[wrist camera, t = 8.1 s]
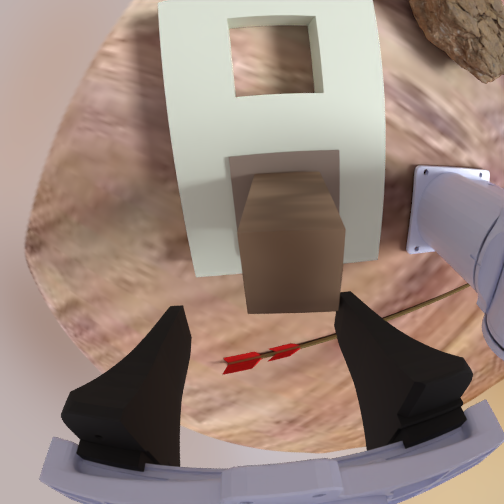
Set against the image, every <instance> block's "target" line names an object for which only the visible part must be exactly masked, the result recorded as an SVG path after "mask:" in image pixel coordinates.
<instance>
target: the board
mask: <svg viewBox="0 0 504 504" xmlns="http://www.w3.org/2000/svg"><path fill="white" fill-rule="evenodd" d="M158 17H159V32H160V46H161V58H162V68H163V78H164V88H165V97H166V105H167V113H168V121H169V128H170V136H171V143H172V150H173V156H174V163H175V169H176V175H177V181H178V187H179V193H180V199H181V205H182V210H183V215H184V221H185V226H186V231H187V236H188V241H189V246H190V251H191V256H192V261H193V266H194V270H195V275H196V277H206V276H218V275H230V274H241V273H242V267H241V259H240V252H239V244H238V236H237V231H238V228H239V225H240V221H241V218H242V214H243V211H244V208H245V204H246V201H247V198H248V194H249V191H250V188H251V184H252V181H253V178H254V175H255V174H265V173H286V172H320V174H321V176H322V178H323V180H324V182H325V184H326V186H327V188H328V190H329V193H330V195H331V197H332V199H333V201H334V204H335V206H336V208H337V210H338V212H339V215H340V217H341V219H342V222H343V224H344V226H345V229H346V232H345V247H344V259H343V264H344V263H353V262H363V261H372V260H378V253H379V245H380V236H381V225H382V214H383V200H384V183H385V101H384V84H383V72H382V61H381V52H380V43H379V36H378V29H377V22H376V16H375V10H374V5H373V0H167V1H163V2H159V3H158ZM283 25H297V26H308V33H309V41H310V50H311V59H312V70H313V81H314V93H292V94H270V95H255V96H243V97H236V94H235V85H234V75H233V65H232V55H231V45H230V35H229V29H231V28H242V27H255V26H283Z"/></svg>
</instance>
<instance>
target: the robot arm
mask: <svg viewBox="0 0 504 504" xmlns="http://www.w3.org/2000/svg"><path fill="white" fill-rule="evenodd" d="M425 169H426V173H425V174H424V170H425ZM479 173H480V175H479ZM489 177H490V173H489V171H488V170H485V169H474V168H462V167H446V166H426V165H419V166H417V167H416V168H415V172H414V187H413V198H412V208H411V217H410V225H409V233H408V240H407V246H406V250H407V252H408V253H409V254H416V253H424V252H432V251H436V252H437V253H438V254H439V255H440V256H441V257H442V258H443V259H444V260H445V261H446V262H447V263H448V264H449V265H450V266H451V267H452V268H453V269H454V270H455V271H456V272H457V273H458V274H459V275H460V276H461V277H462V278H463V279H464V280H465V281H466V282H467V283H468V284H469V285H470V286H471V287H472V288H473V289H474V290H475V291H476V292H477V293H478V300H477V305H478V306H479V308H480V309H481V310H482V311H483V312H484V313H485V315H484V317H483V320H482V332H483V336H484V338H485V340H486V342H487V344H488V346H489V347H490V348H491V350H492V351H493V352H494V353H495V354H496V355H497V356H498V357H499V358H501V359H502V360H504V189H503V188H501V187H499V186H497V185H495V184H493V183H491V182H489ZM416 246H417V248H416V249H415V247H416ZM334 327H335V331H336V335H337V339H338V343H339V346H340V348H341V351H342V353H343V356H344V358H345V361H346V364H347V366H348V369H349V371H350V374H351V376H352V379H353V382H354V385H355V388H356V392H357V397H358V401H359V405H360V410H361V415H362V420H363V426H364V432H365V439H366V447H367V451H364V452H360V453H356V454H352V455H347V456H342V457H338V458H332V459H328V458H322V459H310V460H304V461H296V462H287V463H277V464H265V465H247V466H238V467H232V468H229V469H214V468H213V469H212V468H188V467H180V415H181V401H182V394H183V389H184V384H185V379H186V374H187V370H188V365H189V360H190V353H191V339H192V337H191V334H190V330H189V326H188V323H187V319H186V315H185V312H184V308H183V306H170V307H169V309H168V310H167V311H166V312H165V313H164V315H163V316H162V317H161V318H160V320H159V321H158V322H157V323H156V325H155V326H154V327H153V328H152V329H151V331H150V332H149V333H148V334H147V335H146V337H145V338H144V339H143V340H142V341H141V342H140V343H139V344H138V345H137V346H136V347H135V348H134V349H133V350H132V351H131V352H130V353H129V354H128V355H127V356H126V357H125V358H124V359H122V360H121V361H120V362H119V363H117V364H116V365H115V366H113V367H112V368H111V369H109V370H108V371H107V372H105V373H104V374H102V375H101V376H99V377H98V378H96V379H94V380H93V381H91V382H89V383H87V384H85V385H83V386H81V387H79V388H77V389H75V390H73V391H71V392H70V394H69V396H68V398H67V401H66V403H65V405H64V408H63V410H62V413H61V418H62V420H63V422H64V423H65V424H66V426H67V427H68V428H69V429H70V430H71V431H72V432H73V433H74V434H75V435H76V436H77V437H78V438H79V439H80V442H79V445H78V444H76V443H74V442H71V441H68V440H64V439H61V438H58V437H53V438H52V441H51V444H50V447H49V450H48V453H47V456H46V459H45V462H44V465H43V468H42V472H41V475H40V481H41V482H43V483H44V484H46V485H48V486H49V487H51V488H52V489H54V490H56V491H57V492H59V493H61V494H63V495H64V496H66V497H68V498H70V499H72V500H74V501H77V502H80V503H83V504H397V503H400V502H402V501H405V500H407V499H410V498H412V497H414V496H417V495H419V494H421V493H423V492H426V491H428V490H430V489H432V488H434V487H436V486H438V485H440V484H442V483H444V482H446V481H448V480H450V479H452V478H454V477H456V476H457V475H459V474H461V473H463V472H465V471H467V470H468V469H470V468H472V467H473V466H475V465H477V464H478V463H480V462H481V461H482V460H483V459H485V458H486V457H487V456H488V455H490V454H491V453H492V452H493V451H494V450H495V449H497V448H498V447H499V446H500V445H501V444H502V443H503V442H504V432H503V430H502V428H501V426H500V424H499V422H498V420H497V418H496V416H495V415H494V413H493V411H492V409H491V407H490V405H489V404H488V402H487V400H483V401H481V402H479V403H477V404H475V405H473V406H471V407H469V408H467V409H466V410H465V411H464V412H463V410H462V408H461V406H462V405H463V401H462V400H461V398H460V397H461V396H462V395H463V393H464V392H465V390H466V389H467V387H468V386H469V384H470V382H471V380H472V377H473V373H472V371H471V369H470V367H469V366H468V364H467V363H466V361H465V360H464V358H462V357H459V356H455V355H451V354H448V353H445V352H442V351H439V350H437V349H434V348H432V347H429V346H427V345H425V344H423V343H421V342H419V341H417V340H415V339H413V338H411V337H409V336H408V335H406V334H404V333H403V332H401V331H399V330H398V329H396V328H395V327H393V326H392V325H391V324H389V323H388V322H387V321H385V320H384V319H383V318H381V317H380V316H379V315H378V314H376V313H375V312H374V311H373V310H371V309H370V308H369V307H368V306H367V305H366V304H364V303H363V302H362V301H361V300H360V299H359V298H358V297H357V296H355V295H354V294H353V293H352V292H351V291H349V292H341V293H340V299H339V308H338V311H336V316H335V324H334Z"/></svg>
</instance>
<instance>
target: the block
mask: <svg viewBox="0 0 504 504" xmlns="http://www.w3.org/2000/svg"><path fill="white" fill-rule="evenodd" d="M345 232H346V229H345V226H344V224H343V222H342V219H341V217H340V215H339V212H338V210H337V208H336V206H335V204H334V201H333V199H332V197H331V195H330V193H329V190H328V188H327V186H326V184H325V182H324V180H323V178H322V176H321V174H320V172H286V173H265V174H255V175H254V178H253V181H252V184H251V188H250V191H249V194H248V198H247V201H246V204H245V208H244V211H243V214H242V218H241V221H240V225H239V228H238V231H237V236H238V244H239V252H240V259H241V267H242V274H243V282H244V289H245V297H246V304H247V311H248V314H269V313H307V312H331V311H338V308H339V299H340V290H341V281H342V271H343V259H344V247H345Z"/></svg>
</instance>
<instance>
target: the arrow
mask: <svg viewBox="0 0 504 504" xmlns="http://www.w3.org/2000/svg"><path fill="white" fill-rule="evenodd" d="M469 286H470V285H469V284H465V285H463V286H461V287H459V288H457V289H454V290H452V291H450V292H448V293H445V294H443V295H441V296H439V297H436V298H434V299H431V300H429V301H427V302H424V303H422V304H419V305H417V306H414V307H412V308H409V309H407V310H404V311H401V312H399V313H396V314H393V315H391V316H388V317H385V318H383V319H384V320H385V321H388V320H391V319H394V318H396V317H399V316H402V315H404V314H407V313H409V312H412V311H414V310H417V309H419V308H422V307H424V306H426V305H429V304H431V303H434V302H436V301H438V300H440V299H443V298H445V297H447V296H449V295H452V294H454V293H456V292H458V291H460V290H462V289H465V288H467V287H469ZM336 338H337V335H336V334H335V335H331V336H328V337H325V338H321V339H318V340H315V341H311V342H308V343H304V344H301V345H298V344H287V345H282V346H278V347H274V348H270V350H273V351H274V352H270V353H266V354H262V355H260V354H259V353H256V352H251V353H246V354H241V355H236V356H231V357H226V358H224V359H225V361H226V362H227V363H228V366H227V368H226V369H225V371H224V373H223V374H229V373H234V372H238V371H243V370H248V369H252V368H253V367H254V366H255V365H256V364H257V363H258V362H259V361H260V360H261V359H263V358H267V357H271V356H273V357H272V358H271V359H270V360H269V361H272V360H277V359H280V358H284V357H288V356H291V355H292V354H294V353H295V352H297V351H298V350H299V349H302V348H305V347H309V346H312V345H316V344H319V343H323V342H326V341H329V340H332V339H336ZM223 374H222V375H223Z"/></svg>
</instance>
